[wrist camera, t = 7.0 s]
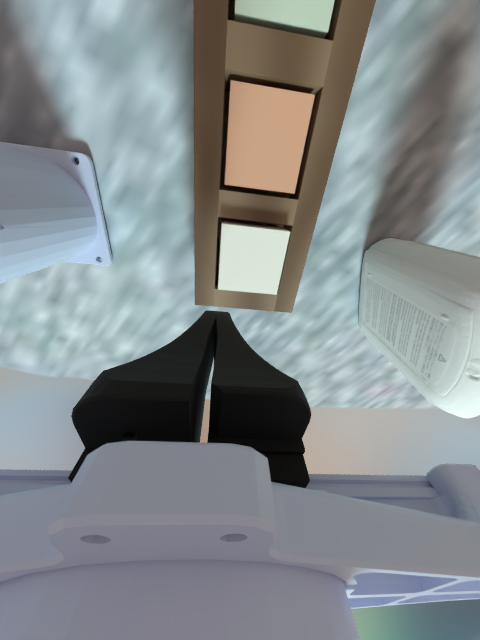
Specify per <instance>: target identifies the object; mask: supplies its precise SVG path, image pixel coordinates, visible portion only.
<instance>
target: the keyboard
mask: <svg viewBox="0 0 480 640" xmlns="http://www.w3.org/2000/svg"><path fill="white" fill-rule="evenodd" d="M375 1H376V0H335V1H334V6H333V11H332V15H331V20H330V25H329V30H328V33H327V34H326V36H325V38H324V39H322V38H316V37H311V36H306V35H301V34H296V33H291V32H286V31H281V30H276V29H271V28H266V27H261V26H256V25H251V24H246V23H241V22H236V21H235V0H194V185H195V305H205V306H217V307H230V308H242V309H254V310H266V311H278V312H290V313H292V310H293V306H294V302H295V298H296V295H297V291H298V287H299V284H300V280H301V276H302V272H303V269H304V265H305V261H306V258H307V254H308V250H309V246H310V243H311V239H312V235H313V232H314V228H315V224H316V220H317V217H318V213H319V209H320V206H321V202H322V198H323V194H324V191H325V187H326V183H327V180H328V176H329V172H330V168H331V165H332V161H333V157H334V153H335V150H336V146H337V142H338V139H339V135H340V131H341V127H342V124H343V120H344V116H345V113H346V109H347V105H348V101H349V98H350V94H351V90H352V87H353V83H354V79H355V75H356V72H357V68H358V64H359V61H360V57H361V53H362V49H363V46H364V42H365V38H366V35H367V31H368V27H369V23H370V20H371V16H372V12H373V8H374V5H375ZM231 80H233V81H239V82H244V83H250V84H256V85H262V86H267V87H273V88H279V89H284V90H290V91H296V92H302V93H307V94H313V95H315V97H314V102H313V107H312V112H311V117H310V121H309V126H308V131H307V136H306V141H305V146H304V150H303V155H302V160H301V165H300V170H299V174H298V179H297V184H296V189H295V194H288V195H286V194H279V193H271V192H264V191H256V190H248V189H241V188H233V187H226V186H225V169H226V152H227V135H228V118H229V101H230V84H231ZM223 221H228V222H237V223H245V224H254V225H262V226H271V227H279V228H285V229H286V230H288V231H290V236H289V240H288V245H287V249H286V254H285V259H284V263H283V268H282V273H281V277H280V282H279V286H278V291H277V295H274V294H263V293H252V292H240V291H229V290H218V280H219V263H220V245H221V228H222V222H223Z"/></svg>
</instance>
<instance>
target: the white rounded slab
mask: <svg viewBox="0 0 480 640" xmlns="http://www.w3.org/2000/svg"><path fill="white" fill-rule="evenodd" d="M359 327H360V330H361V331H362V333H363V334H364V335H365V336H366V337H367V338H368V339H369V340H370V341H371V342H372V343H373V344H374V345H375V346H376V347H377V348H378V349H379V350H380V351H381V352H382V353H383V354H384V355H385V356H386V357H387V359H388V360H389V361H390V362H391V363H392V364H393V365H394V366H395V367H396V368H397V369H398V370H399V371H400V372H401V373H402V374H403V375H404V376H405V377H406V378H407V379H408V380H409V381H410V382H411V383H412V384H413V385H414V386H415V387H416V388H417V389H418V390H419V391H420V393H421V394H422V395H423V396H424V397H425V398H426V399H427V400H429V401H430V402H431V403H432V404H434V405H435V406H437V407H439V408H441V409H442V410H444V411H446V412H448V413H451V414H453V415H456V416H460V417H463V418H472V417H475V416H478V415H480V257H477V256H473V255H469V254H465V253H461V252H457V251H453V250H448V249H444V248H440V247H436V246H432V245H427V244H423V243H419V242H414V241H409V240H400V239H395V238H386V239H383V240H380V241H378V242H376V243H375V244H373V245H372V246H371V247H370V248H369V250H366V252H365V255H364V259H363V264H362V274H361V285H360V301H359Z"/></svg>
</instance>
